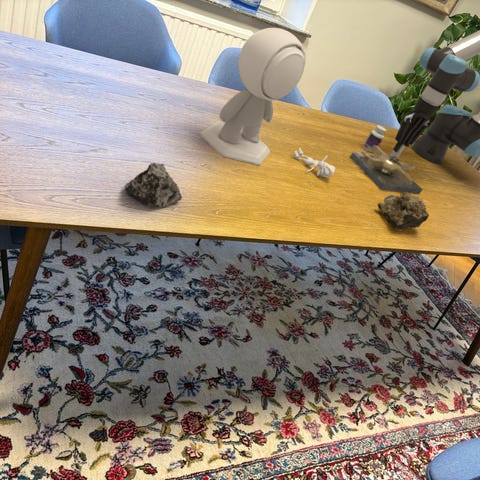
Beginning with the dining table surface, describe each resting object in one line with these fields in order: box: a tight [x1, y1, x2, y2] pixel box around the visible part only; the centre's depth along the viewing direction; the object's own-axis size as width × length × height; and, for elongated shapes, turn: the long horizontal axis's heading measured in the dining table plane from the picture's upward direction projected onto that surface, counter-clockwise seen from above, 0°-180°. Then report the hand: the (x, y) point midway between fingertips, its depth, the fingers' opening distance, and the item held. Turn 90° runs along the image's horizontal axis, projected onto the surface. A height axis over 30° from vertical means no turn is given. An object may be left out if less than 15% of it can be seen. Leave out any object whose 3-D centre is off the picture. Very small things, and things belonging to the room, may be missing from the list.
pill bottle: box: [362, 125, 387, 154], centre depth 177 cm, size 5×5×10 cm
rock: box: [124, 162, 183, 208], centre depth 99 cm, size 13×10×10 cm
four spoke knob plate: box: [367, 145, 416, 185], centre depth 161 cm, size 22×22×4 cm
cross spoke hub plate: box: [349, 150, 423, 195], centre depth 163 cm, size 20×20×3 cm
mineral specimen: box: [377, 192, 430, 231], centre depth 135 cm, size 14×13×10 cm
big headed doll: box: [199, 27, 306, 166], centre depth 127 cm, size 20×23×35 cm
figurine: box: [292, 147, 337, 179], centre depth 143 cm, size 12×5×15 cm
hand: (392, 158), depth 169 cm, fingers closed
